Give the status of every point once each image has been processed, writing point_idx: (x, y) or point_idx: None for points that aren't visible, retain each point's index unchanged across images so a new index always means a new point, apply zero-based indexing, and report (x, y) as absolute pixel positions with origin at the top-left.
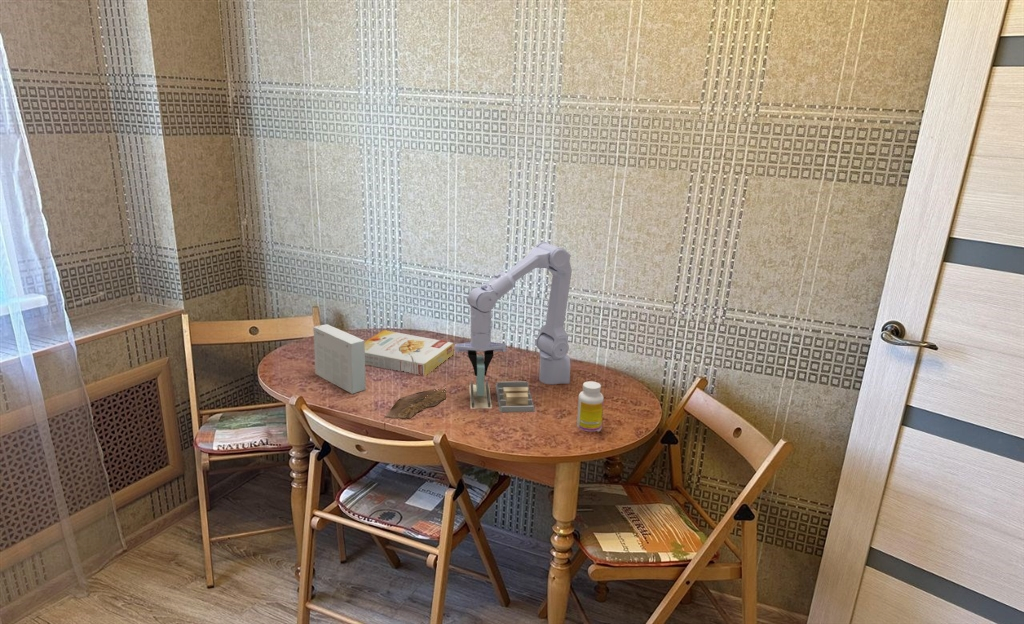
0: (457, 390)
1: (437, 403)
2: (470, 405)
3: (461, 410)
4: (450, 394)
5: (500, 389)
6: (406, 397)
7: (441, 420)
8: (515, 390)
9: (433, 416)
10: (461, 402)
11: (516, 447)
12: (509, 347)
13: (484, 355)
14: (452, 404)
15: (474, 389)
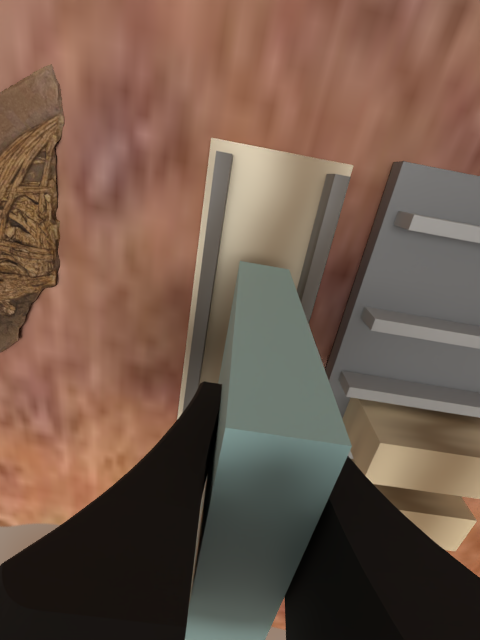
0: (129, 168)
1: (15, 335)
2: (178, 408)
3: (139, 403)
4: (84, 221)
5: (381, 329)
6: None
7: (53, 458)
8: (430, 488)
9: (16, 426)
10: (144, 331)
11: (280, 612)
12: None
13: (329, 631)
14: (97, 342)
15: (233, 230)
